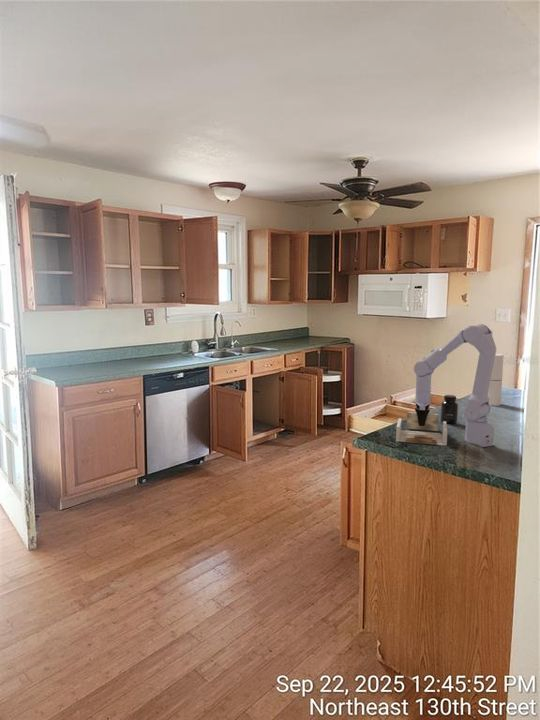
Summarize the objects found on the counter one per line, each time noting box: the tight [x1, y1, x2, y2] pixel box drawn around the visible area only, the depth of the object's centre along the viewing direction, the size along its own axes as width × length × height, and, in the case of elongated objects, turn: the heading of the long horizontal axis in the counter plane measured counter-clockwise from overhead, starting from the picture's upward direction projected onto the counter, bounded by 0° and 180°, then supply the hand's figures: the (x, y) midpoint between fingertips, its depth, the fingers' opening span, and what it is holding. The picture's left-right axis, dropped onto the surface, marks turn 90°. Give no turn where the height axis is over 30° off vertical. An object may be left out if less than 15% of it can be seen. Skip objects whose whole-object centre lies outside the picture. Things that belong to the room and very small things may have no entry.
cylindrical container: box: [487, 353, 504, 407], centre depth 238 cm, size 7×7×25 cm
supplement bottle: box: [439, 394, 459, 426], centre depth 205 cm, size 7×7×12 cm
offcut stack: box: [405, 434, 437, 445], centre depth 179 cm, size 11×3×2 cm, turn 72°
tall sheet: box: [406, 411, 439, 432], centre depth 195 cm, size 12×2×8 cm, turn 72°
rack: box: [395, 418, 448, 446], centre depth 183 cm, size 18×14×6 cm
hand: (421, 423), depth 195 cm, fingers open, 7 cm apart
